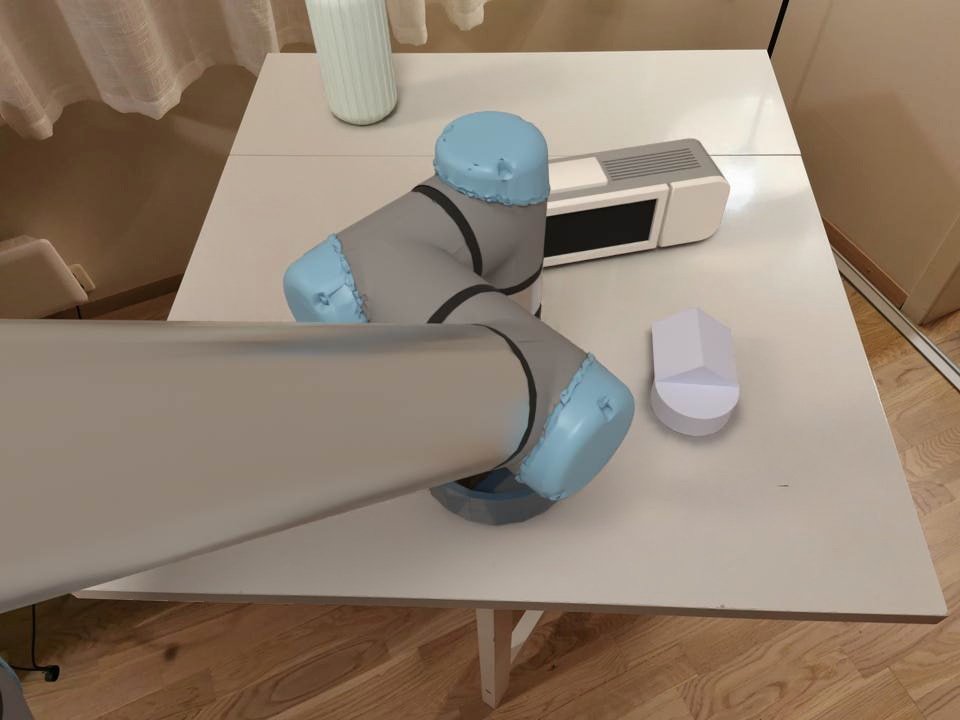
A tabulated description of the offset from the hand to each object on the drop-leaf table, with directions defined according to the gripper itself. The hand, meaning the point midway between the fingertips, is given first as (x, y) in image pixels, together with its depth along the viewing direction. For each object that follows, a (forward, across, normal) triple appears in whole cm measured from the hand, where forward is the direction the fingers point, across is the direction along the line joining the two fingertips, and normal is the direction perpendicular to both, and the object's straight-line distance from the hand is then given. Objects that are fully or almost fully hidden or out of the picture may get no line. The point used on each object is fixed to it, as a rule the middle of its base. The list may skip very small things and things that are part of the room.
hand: (497, 444), depth 74 cm
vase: (+3, +63, -32) cm, 70 cm away
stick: (+2, 0, 0) cm, 2 cm away
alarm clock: (+3, +14, -35) cm, 38 cm away
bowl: (+3, 0, 0) cm, 3 cm away
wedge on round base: (+3, -9, -22) cm, 24 cm away
